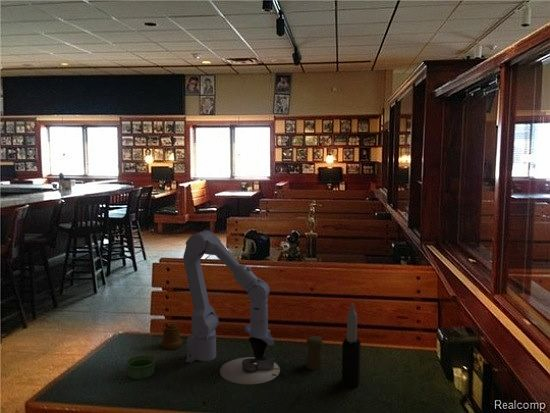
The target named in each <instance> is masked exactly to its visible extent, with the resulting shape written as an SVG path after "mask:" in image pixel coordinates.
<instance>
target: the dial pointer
mask: <svg viewBox="0 0 550 413" xmlns="http://www.w3.org/2000/svg"><path fill="white" fill-rule="evenodd" d="M274 362H275V359H274V357H263V358H256V359H253V358H248V359H244V360H243V361H242V370H243V371H244V372H255V371H257V370H263V369H274Z"/></svg>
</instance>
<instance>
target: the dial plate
mask: <svg viewBox="0 0 550 413" xmlns="http://www.w3.org/2000/svg"><path fill="white" fill-rule="evenodd" d="M248 358H253V359H255V356H254V357H253V356H247V357H238V358H234V359H232V360H229V361H227V362H225V363H224V364H223V365H221V367H220V369H219V374H220V376H221V378H224V379H225V380H227V381H229V382H231V383H234V384H240V385H257V384H263V383H268V382H270V381H272V380H273V379H275V378H277V376H279V374H280V372H281V369H280V365H278V363H276V362H275V361H274V369H263V370H257V371H255V372H244V371H243V370H242V361H243V360H244V359H248Z"/></svg>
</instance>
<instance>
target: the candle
mask: <svg viewBox="0 0 550 413" xmlns="http://www.w3.org/2000/svg"><path fill="white" fill-rule="evenodd" d="M354 305H355V303H353V302H352V303H351V304H350V309H349V311H348V312H347V316H346V318H347V319H346V320H347V322H346V324H347V326H346V338H344V340H343V341H342V350H341V353H342V355H341V359H342V360H341V385H343V386H348V387H353V388H357V387H359V385H360V382H361V351H362V350H361V349H362V348H361V346H362V343H361V342H362V341H361V340H359V339H358V335H357V334H358V332H357V331H358V313H357V312H356V310H355V307H354Z"/></svg>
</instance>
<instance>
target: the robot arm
mask: <svg viewBox="0 0 550 413" xmlns="http://www.w3.org/2000/svg"><path fill="white" fill-rule="evenodd" d="M220 239H221V238H219V237H218V236H217V235H216V234H215V233H214V232H213V231H211V230H209V229H205V230H202V231H201V232H197V233H194V234H192V235H190V236H189V238H188V239H187V240H186V241H185V249H184V253H183V255H182V256H183V257H182V259H183V260H182V261H183V264H184V265H183V266H184V268H185V269H184V270H185V274H186V279H187V284H188V288H189V289H188V290H189V293H190V298H191V303H192V307H193V311H192V314H191V325H190V326H191V328H190V330H191V333H189V335H188V337H187V341H186V360H185V362H186V363H189V364H190V363H191V364H192V363H194V361H196V360H197V361H201V362H207V361H213V360H214V359H215V358H217V331H216V328H218V326H219V318H218V314H216V312H215V309H214V307H213V306H212V305H210V301H209V296H208V295H209V294H208V291H207V287H206V282H205V278H204V273H203V268H202V264H201V259H202V258H203V256H204V255H211V256H215V257H217V259H219V261H220V262H222V263H223V264H224V265H225V266H226V267H227V268H228V269H229V270H230V271H231V272H232V278H233V279H235V281H236V282H237V283H238V284H239V285H240V286H241V287H242V288H243V289H244V290H245V291H246V292H247V297H248V300H250V306H249V307H250V309H249V310H250V317H249V318H250V320H249V321H250V322H249V323H250V324H248V325H244V332H245V333H248V334H249V336H250V337H248V342H249V344H250V346H251V348H252V351H253V355H254V357H255V359H256V358H264V355H265V351H266V349H267V346H272V345H275V338H274V337H273V336H272V335H271V330H270V329H268V328H269V323H268V322H269V305H268V300H269V299H268V296H269V295H270V292H271V288H270V285H269V284H268V282H267V281H265V280H262V278H260V277H258V276H257V275H256V274H255V273H254V272H253V271H252V267H251V266H247V265H246V264H240V263H239V261H238V260H237V259H236V257H234V255H232V253H231V252H230V251H229V249H228V248H227V247H226V246H225V245H224V243H222V241H221V240H220Z"/></svg>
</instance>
